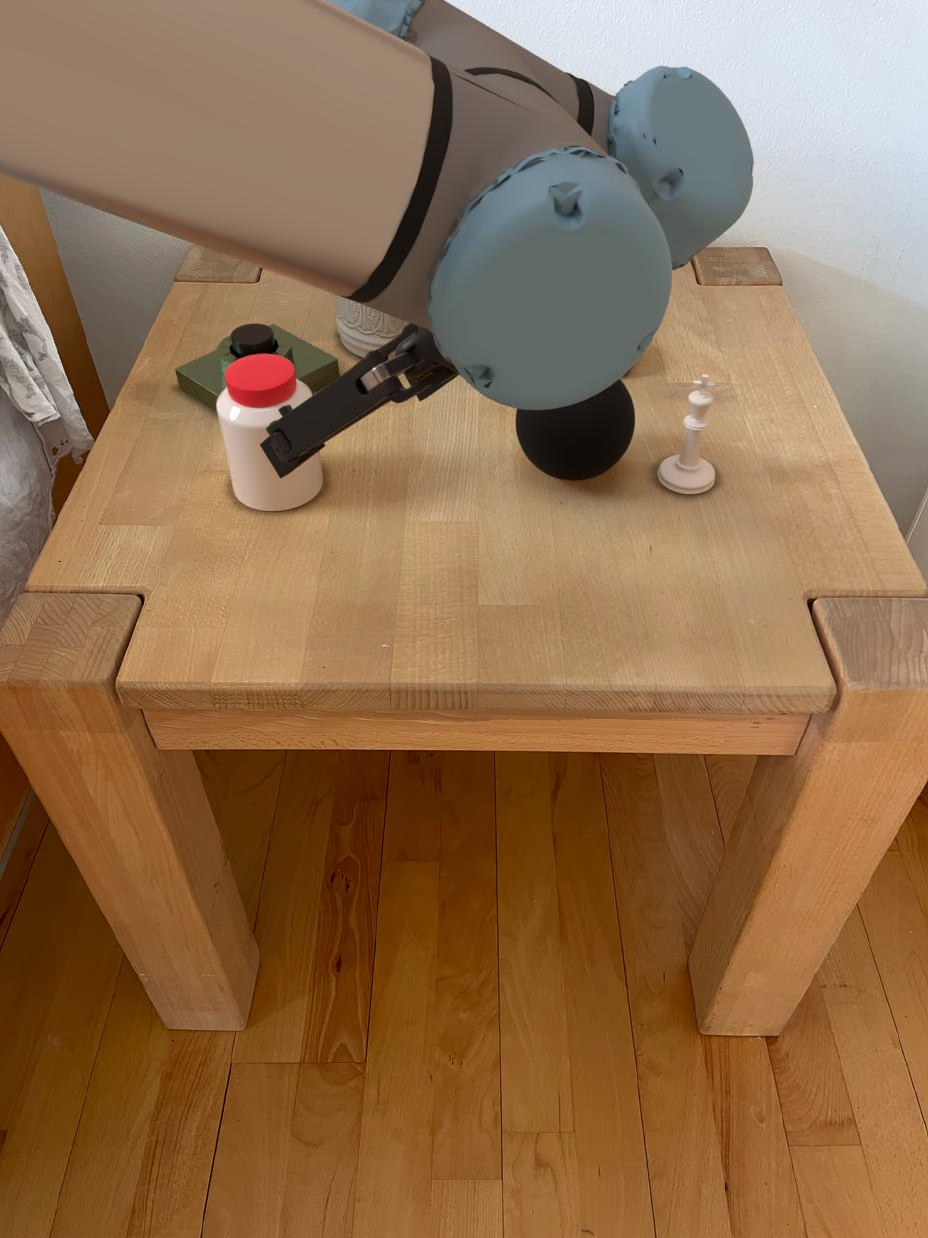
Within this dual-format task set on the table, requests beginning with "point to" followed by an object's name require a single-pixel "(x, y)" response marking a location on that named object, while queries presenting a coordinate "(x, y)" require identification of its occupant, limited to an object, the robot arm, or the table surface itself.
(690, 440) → the chess piece
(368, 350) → the jar
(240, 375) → the pill bottle
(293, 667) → the table surface
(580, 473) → the decorative ball
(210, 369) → the button box
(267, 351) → the button
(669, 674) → the table surface
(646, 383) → the table surface
